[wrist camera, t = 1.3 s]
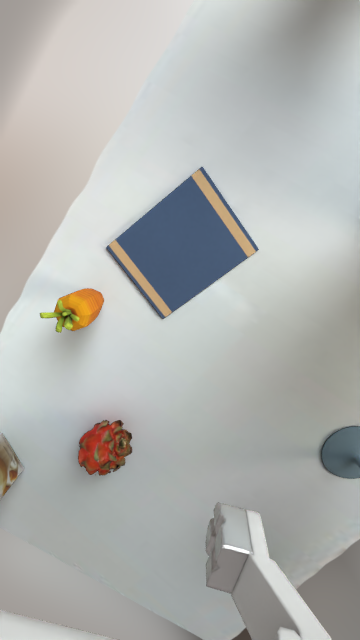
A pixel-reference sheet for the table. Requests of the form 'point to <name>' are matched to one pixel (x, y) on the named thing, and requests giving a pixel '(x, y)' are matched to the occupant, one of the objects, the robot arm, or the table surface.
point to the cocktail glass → (343, 453)
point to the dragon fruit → (104, 447)
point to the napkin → (182, 244)
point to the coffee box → (8, 466)
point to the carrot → (76, 309)
